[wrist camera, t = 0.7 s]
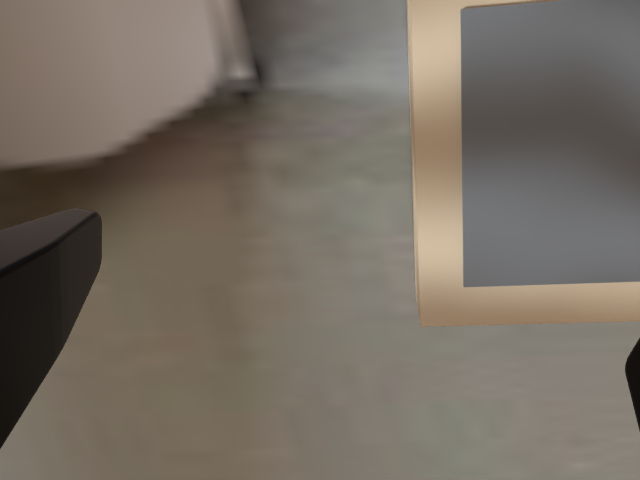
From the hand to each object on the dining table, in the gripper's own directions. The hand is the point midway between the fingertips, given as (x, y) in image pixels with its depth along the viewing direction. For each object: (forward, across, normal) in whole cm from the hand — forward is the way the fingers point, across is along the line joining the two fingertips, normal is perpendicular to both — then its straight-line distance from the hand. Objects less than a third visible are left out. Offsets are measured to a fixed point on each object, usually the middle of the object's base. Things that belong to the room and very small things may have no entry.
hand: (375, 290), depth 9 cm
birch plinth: (+13, -8, 0) cm, 15 cm away
